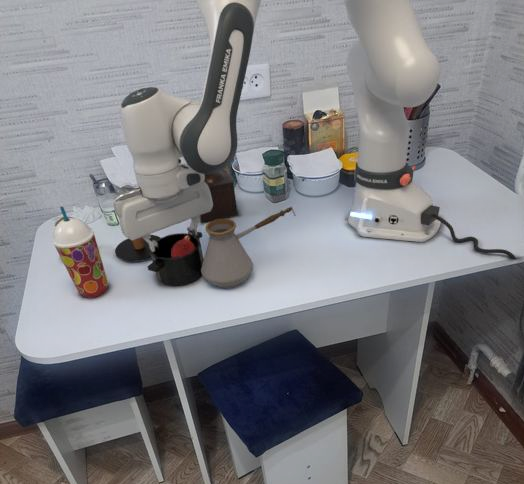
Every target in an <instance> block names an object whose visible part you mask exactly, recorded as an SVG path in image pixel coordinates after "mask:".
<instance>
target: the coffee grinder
mask: <svg viewBox="0 0 524 484" xmlns="http://www.w3.org/2000/svg"><path fill="white" fill-rule="evenodd" d="M178 162H179V164H182V160H181V159H180V158H179V159H178ZM204 175H205V180H204V182H205V183H206V184H207V185H208V187H209V189H210V193H211V197H212V201H213V207H212V209H211V211H210V212H207V213H205V214H202V215H199V219H200V220H199V222H201V223H202V224H206V223H209V222H211V221H214V220H217V219H230V218H232V217H236V216H238V215H239V213H238V206H237V197H236V192H235V184H234V182H233V179H232V178H231V177H230V175H229V173H228V172H227V170H226V168H225V169H224V170H222V171H220V172H218V173H215V174H204Z"/></svg>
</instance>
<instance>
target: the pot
mask: <svg viewBox="0 0 524 484" xmlns="http://www.w3.org/2000/svg"><path fill="white" fill-rule="evenodd" d="M185 236H189V234H188V232H186V233H185V232H184V233H183V232H182V233H179V232H178V233H172V234H168V235H165V236H162V237H160V239H158V240H157V241H156V242H157V243H158V247H159V250H157V251H155V252H152V251H151V250H150V255H151V258H150V259H151V261H152V262H151V263H149V264H148V265H147V270H148V271H150V272H153V273H155V275H156V279H157V280H158V282H159V283H160V284H162V285H164V286H166V287H167V286H168V287H174V288H175V287H178V288H179V287H185V286H188V285H191V284H194V283H195V282H197V281H199V280H200V279H202V278H203V275H202V273H201V268H202V264H203V260H204V254H203V253H204V252H203V248H202V243H201V240H200V239H201V238H202V237H203V232H201V231H197V235H195V236H193V237H191V236H189V237H190V241H191V242H192V243H193V244H194V245H195V247H196V249H194V250H193V251H192V252H191V253H189V254H186V255H184V256H181V257H176V258H171V250H172V247H173V245H174V244H175V243H176V242H177V241H179V240H182V239H183V238H184V237H185Z"/></svg>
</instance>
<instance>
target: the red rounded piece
mask: <svg viewBox="0 0 524 484" xmlns="http://www.w3.org/2000/svg"><path fill="white" fill-rule="evenodd" d="M194 249H196V247H195V245H194V244H193V243H192V242H191V241H190V237H189V236H185V237H184V238H183V239H182V240H179V241H177V242H176V243H175V244H174V245H173V247H172V250H171V258H176V257H181V256H184V255H186V254H189V253H191V252H192V251H193V250H194Z"/></svg>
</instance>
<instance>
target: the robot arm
mask: <svg viewBox="0 0 524 484" xmlns="http://www.w3.org/2000/svg"><path fill="white" fill-rule="evenodd" d="M196 2H197V7H198V9H199V11H200V14H201V16H202V18H203V21H204V23H205V26H206V30H207V34H208V38H209V57H208V62H207V63H208V64H207V68H206V73H205V79H204V84H203V90H202V93H201V98H200V99H201V100H197V99H192V98H183V97H178V96H174V95H171V94H169V93H166V92H164V91H163V90H161V89H160V88H158V87H153V86H148V87H143V88H139V89H137V90H134V91H132V92H131V93H129V94H128V95H126V97H124V99H123V100H122V102H121V105H120V119H121V126H122V130H123V134H124V138H125V139H124V140H125V142H126V146H127V149H128V151H129V153H130V154H131V157H132V161H133V162H132V164H133V165H132V167H133V173H134V176H135V180H136V183H137V187H136V188H133V189H131V190H129V191H127V192H122V193H119V194H118V196H117V197H116V198H115V199H114V201H113V209H114V212H115V214H116V216H118V222H119V227H120V230H121V233H122V234H123V236H124V237H126V239H130V240H135V239H138V238H140V237H142V238H143V239H144V240H145V241H146V242H148V244H149V247H150V250H151V251H152V252H155V251H157V250H159V247H158V243H157V242H156V241H155V240H153V241H150V240H149V239H150V238H151V236H150V235H152V234H153V233H157V232H159V231H162V230H165V229H168V228H170V227H173V226H175V225H178V224H180V223H184V222H186V221H189V220H191V221H190V225H189V226H187V227H186V230H187V234H189V236H191V237H193V236H195V235H197V232H198V226H199V223H200V219H199V215H202V214H205V213H207V212H210V211H211V209H212V207H213V201H212V197H211V193H210V189H209V187H208V185H207V184H206V183H205V182H204V180H205V175H204V174H215V173H218V172H220V171H222V170H224V169H225V170H226V168H227V167H228V166H230V164H231V163H232V162H233V160H234V159H235V156H236V154H237V150H238V131H237V117H238V110H239V106H240V101H241V97H242V92H243V89H244V84H245V78H246V73H247V69H248V65H249V60H250V55H251V50H252V43H253V38H254V32H255V28H256V23H257V17H258V13H259V10H260V7H261V3H262V0H196ZM343 3H344V7H345V11H346V14H347V19H348V21H349V24H350V25H351V26H352V28H353V29H354V31H355V33H356V35H357V36H358V39H357V40H356V41H355V42H354V43H353V44H352V46H351V47H350V49H349V51H348V54H347V57H346V63H345V65H346V66H345V67H346V72H347V75H348V78H349V79H350V83H351V86H352V91H353V96H354V103H355V109H356V110H355V111H356V118H357V125H358V141H357V143H358V146H357V162H356V163H355V167H354V168H355V169H354V175H353V177H354V178H353V179H354V187H355V188H354V194H353V200H352V203H351V208H350V211H349V214H348V216H347V222H348V224H349V225H350V226H351V227H352V228H353V229H355V230H356V231H357V234H358V236H360V237H364V238H373V239H374V238H375V239H385V240H395V241H407V242H416V243H424V242H426V241H428V240H429V239H432V238H433V237H434V236H435V235H436V234H437V233H438V231H439V229H440V228H441V224H443V225H444V226H445V227H446V228H447V229H448V231H449V233H450V237H451V239H452V240H453V241H454V242H456V243H465V242H468V241H472V242H473V249H474V250H475V251H477V252H479V253H483V254H504V255H507V256H508V257H509V258H510V259H511V260H513V261H516V260H517V257H516V256H515V254H514V253H512V252H511V251H509V250H507V249H501V248H489V249H488V248H482V247H480V246H479V240H478V238H477V237H476V236H475V237H474V236H467V237H464V238H463V237H462V238H458V237H457V236H456V233H455V230H454V228H453V226H452V225H451V224H450V223H449V222H448V221H447V220H446V219H444V218H443V217H441V215H440V214H439V213H440V209H441V208H440V206H437V205H434V203H433V199H432V196H431V195H430V194H429V193H428V192H427V191H425V190H424V189H423V188H422V187H421V186H419V184H418V183H416V181H415V180H413V179H414V173H415V170H416V165H413V166H412V167H411V166H410V165H409V164H408V161H407V157H408V149H409V141H410V133H411V130H410V124H409V121H408V119H407V116H406V113H405V109H404V108H415V107H419V106H421V105H422V104H424V103H426V102H427V101H428V100H429V99H430V98H431V97H432V95H433V94H434V92H435V91H436V88H437V86H438V84H439V80H440V75H441V69H440V68H441V67H440V63H439V61H438V59H437V57H436V56H435V54H434V53H433V52H432V50H431V49H430V47H429V46H428V43H427V41H426V39H425V37H424V35H423V32H422V29H421V27H420V25H419V22H418V19H417V17H416V14H415V11H414V9H413V6H412V3H411V0H343ZM180 158H183V160H184V161H185V162H186V163H180V164H179V162H178V159H180ZM148 238H149V239H148Z"/></svg>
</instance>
